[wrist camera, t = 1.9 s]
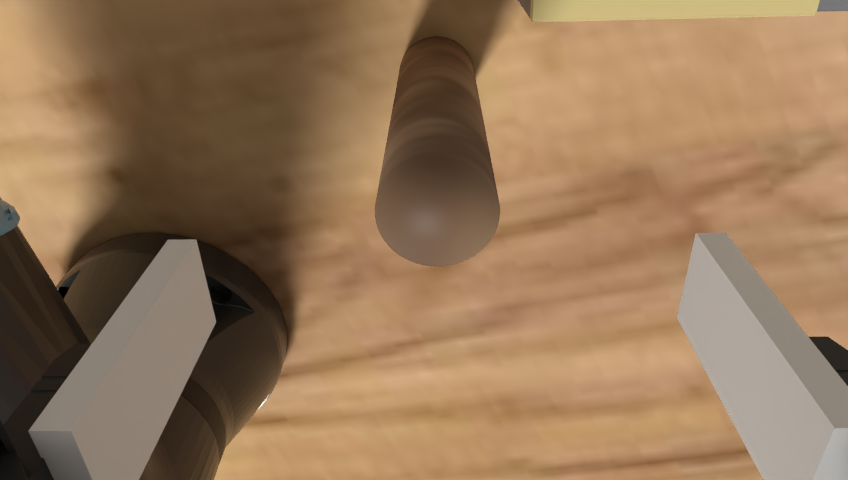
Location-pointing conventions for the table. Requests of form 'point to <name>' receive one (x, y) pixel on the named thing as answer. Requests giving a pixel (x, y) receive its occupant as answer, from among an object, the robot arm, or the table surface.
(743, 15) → the breaker box
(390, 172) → the rounded rod
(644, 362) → the table surface
